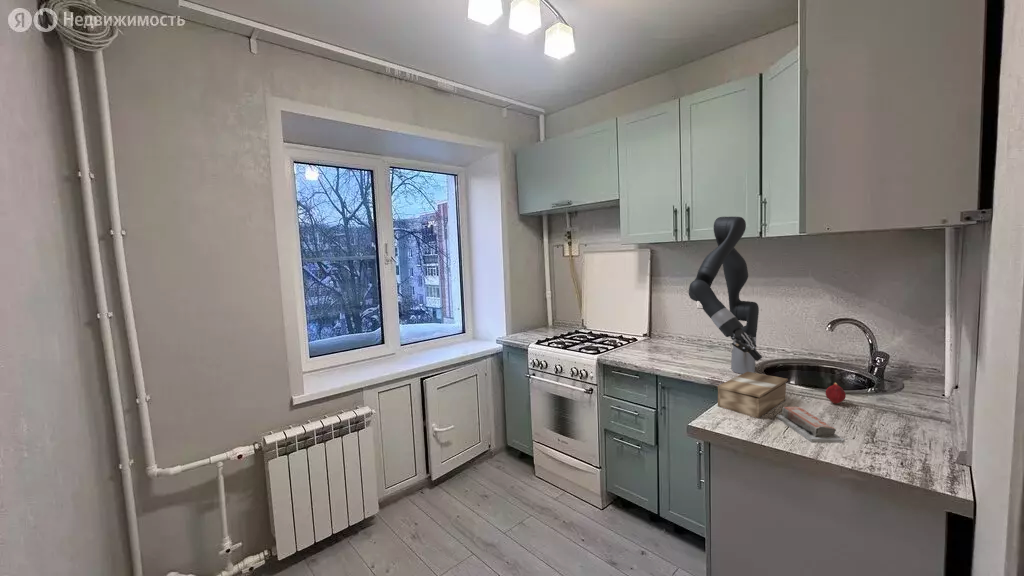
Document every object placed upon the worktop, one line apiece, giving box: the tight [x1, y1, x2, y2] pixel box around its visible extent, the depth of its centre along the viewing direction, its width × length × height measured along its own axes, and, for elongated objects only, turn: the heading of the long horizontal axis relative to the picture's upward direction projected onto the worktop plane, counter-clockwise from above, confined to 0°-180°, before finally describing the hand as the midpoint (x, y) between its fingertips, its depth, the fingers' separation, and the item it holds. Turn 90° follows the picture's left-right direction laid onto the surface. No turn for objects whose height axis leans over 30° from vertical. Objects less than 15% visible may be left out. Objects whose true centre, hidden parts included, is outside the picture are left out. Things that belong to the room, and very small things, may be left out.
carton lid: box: [717, 372, 789, 397], centre depth 152 cm, size 14×25×1 cm, turn 127°
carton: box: [717, 382, 787, 419], centre depth 152 cm, size 14×24×7 cm, turn 127°
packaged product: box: [776, 406, 846, 443], centre depth 131 cm, size 18×5×10 cm
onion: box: [825, 382, 847, 405], centre depth 150 cm, size 6×6×8 cm
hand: (759, 359), depth 149 cm, fingers closed
